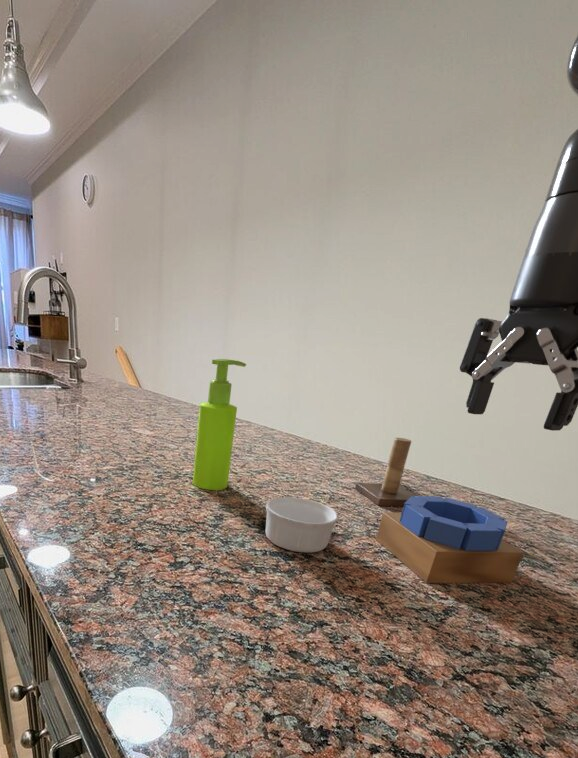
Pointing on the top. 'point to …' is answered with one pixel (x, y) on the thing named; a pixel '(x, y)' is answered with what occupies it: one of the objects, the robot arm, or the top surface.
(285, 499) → the ramekin
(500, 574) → the platform
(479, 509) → the ring
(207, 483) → the soap dispenser
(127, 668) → the top surface
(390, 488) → the post
